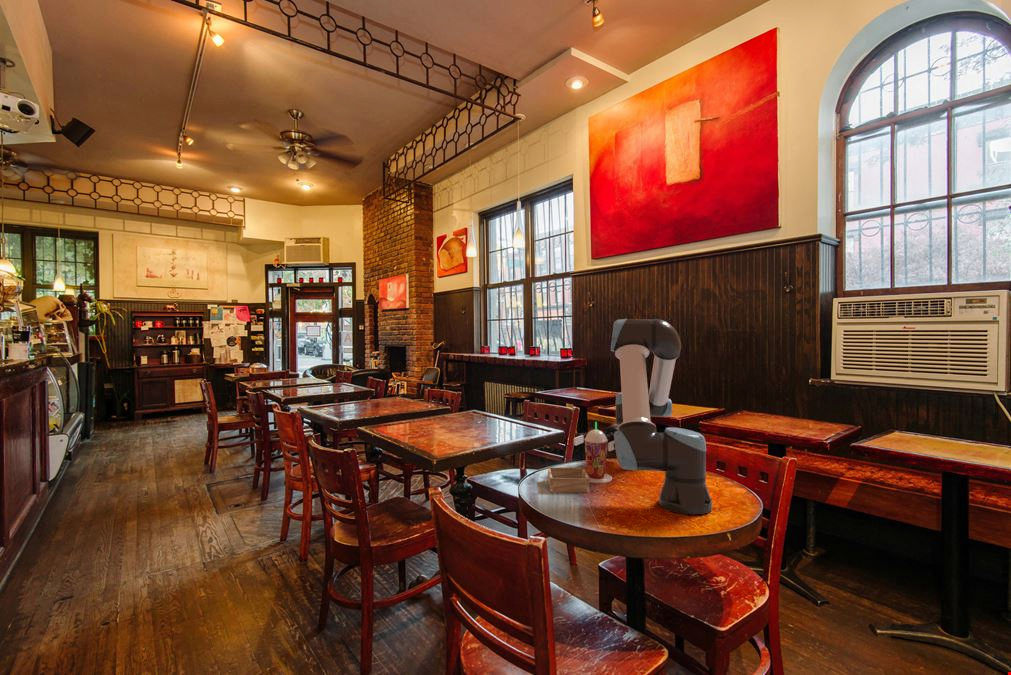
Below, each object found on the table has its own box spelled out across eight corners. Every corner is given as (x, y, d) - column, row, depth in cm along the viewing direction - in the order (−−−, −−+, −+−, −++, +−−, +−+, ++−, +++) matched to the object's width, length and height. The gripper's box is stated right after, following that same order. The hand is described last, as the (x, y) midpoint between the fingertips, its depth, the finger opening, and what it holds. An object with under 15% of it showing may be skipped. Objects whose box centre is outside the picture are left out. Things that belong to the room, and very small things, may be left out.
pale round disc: (615, 483, 163) (615, 481, 163) (581, 483, 164) (581, 481, 164) (608, 473, 175) (608, 471, 175) (576, 473, 176) (576, 471, 176)
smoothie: (605, 473, 174) (605, 420, 173) (609, 480, 165) (609, 424, 165) (582, 473, 174) (582, 420, 173) (586, 480, 165) (586, 424, 165)
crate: (589, 492, 154) (589, 478, 154) (550, 491, 155) (550, 478, 155) (583, 480, 167) (583, 467, 167) (547, 479, 168) (547, 467, 168)
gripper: (646, 448, 177) (624, 460, 160) (586, 439, 191) (561, 449, 174) (646, 428, 177) (624, 438, 160) (586, 421, 191) (561, 429, 174)
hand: (591, 444), depth 167 cm, fingers open, 13 cm apart
